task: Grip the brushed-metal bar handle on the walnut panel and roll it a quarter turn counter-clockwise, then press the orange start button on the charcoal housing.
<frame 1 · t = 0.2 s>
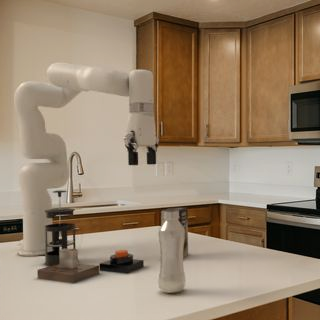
hand: (142, 164, 142), 31 cm above the countertop, tool pointing down, fingers open, 9 cm apart
dial panel: (68, 276, 128), on the countertop
coffee box: (175, 257, 150), on the countertop
bar knob: (68, 258, 127), point 5 cm above the countertop, hinge at 0.0°
button box: (121, 269, 135), on the countertop
french press: (60, 263, 144), on the countertop
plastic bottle: (172, 292, 112), on the countertop
start button: (121, 254, 135), point 4 cm above the countertop, slide at 0.1 cm
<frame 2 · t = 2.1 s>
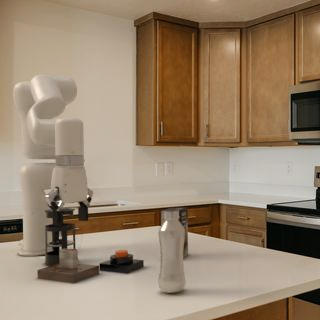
hand: (71, 223, 128), 15 cm above the countertop, tool pointing down, fingers open, 9 cm apart
nothing on the countertop moved.
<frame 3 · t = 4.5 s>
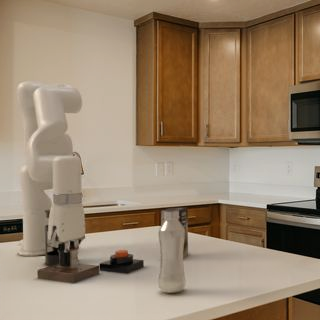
hand: (68, 264, 127), 3 cm above the countertop, tool pointing down, fingers closed on bar knob, 2 cm apart
bar knob: (68, 258, 127), point 5 cm above the countertop, hinge at 0.5°, touching gripper
everything else where it was.
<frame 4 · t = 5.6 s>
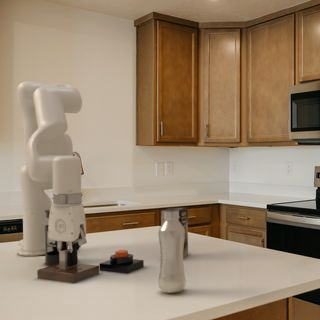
hand: (68, 264, 127), 3 cm above the countertop, tool pointing down, fingers closed on bar knob, 2 cm apart
bar knob: (68, 258, 127), point 5 cm above the countertop, hinge at 89.2°, touching gripper
everything else where it was.
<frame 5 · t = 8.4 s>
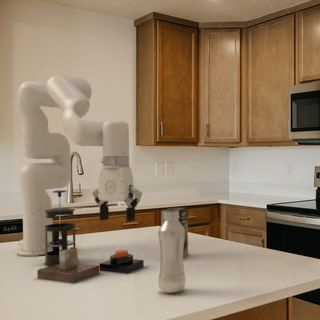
hand: (117, 220, 134), 15 cm above the countertop, tool pointing down, fingers open, 9 cm apart
bar knob: (68, 258, 127), point 5 cm above the countertop, hinge at 89.0°
everything else where it was.
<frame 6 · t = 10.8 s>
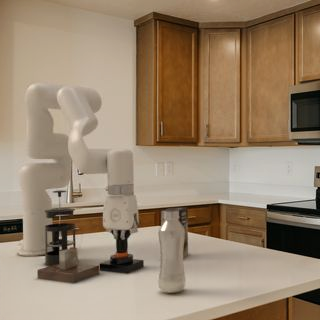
hand: (122, 252, 135), 5 cm above the countertop, tool pointing down, fingers closed
start button: (121, 255, 135), point 4 cm above the countertop, slide at -0.2 cm, touching gripper
everything else where it was.
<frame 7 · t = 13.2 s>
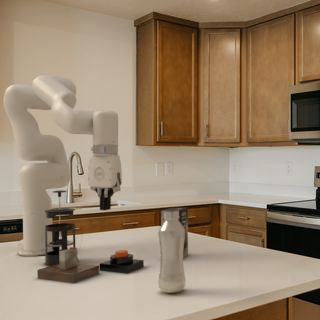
hand: (105, 209, 141), 17 cm above the countertop, tool pointing down, fingers closed
start button: (121, 254, 135), point 4 cm above the countertop, slide at 0.1 cm
everything else where it was.
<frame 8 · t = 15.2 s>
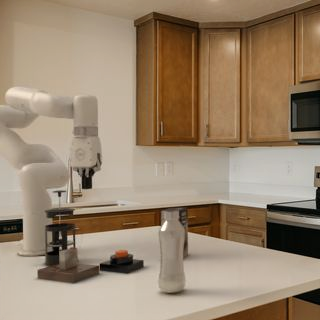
hand: (86, 188, 149), 23 cm above the countertop, tool pointing down, fingers closed
nothing on the countertop moved.
at the end: bar knob at +89° (first picture: +0°); start button pushed in 1.1 cm at the most during the clip and back out by the end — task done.
